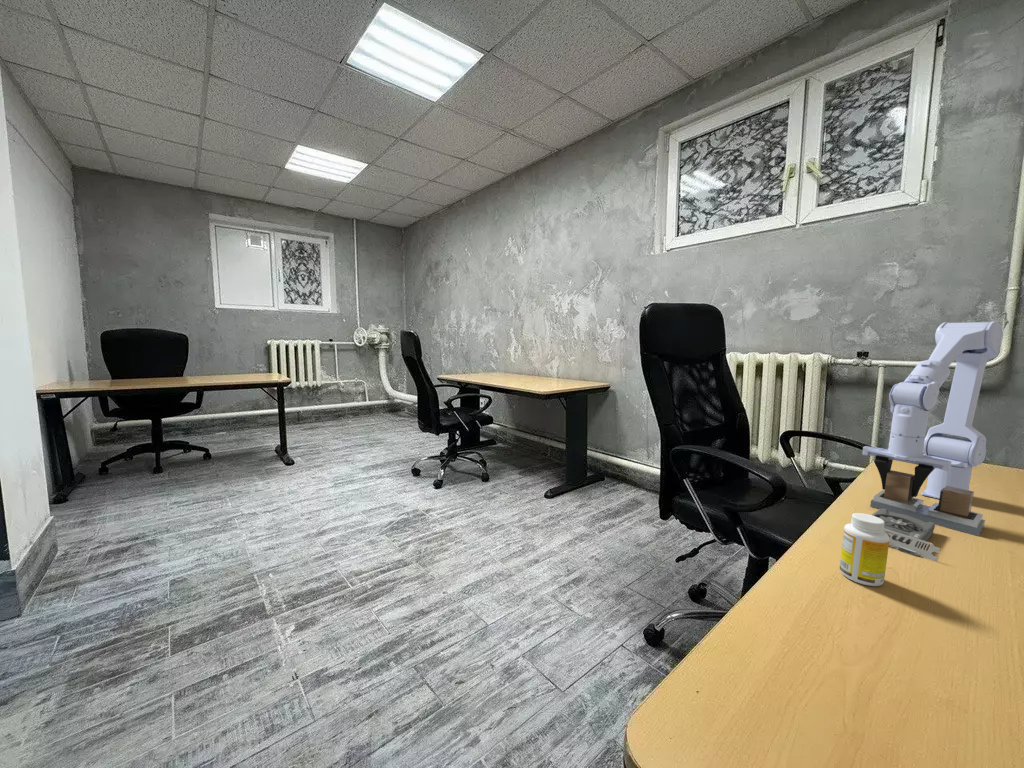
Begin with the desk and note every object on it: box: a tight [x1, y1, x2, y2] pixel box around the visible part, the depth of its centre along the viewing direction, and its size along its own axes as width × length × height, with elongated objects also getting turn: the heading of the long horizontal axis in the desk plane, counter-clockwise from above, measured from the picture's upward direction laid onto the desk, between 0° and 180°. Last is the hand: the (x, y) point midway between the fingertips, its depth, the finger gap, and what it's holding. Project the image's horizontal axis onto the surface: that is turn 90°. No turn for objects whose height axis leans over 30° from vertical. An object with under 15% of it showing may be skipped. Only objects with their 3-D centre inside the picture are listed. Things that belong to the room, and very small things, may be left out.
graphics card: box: [871, 508, 941, 563], centre depth 81 cm, size 17×4×12 cm
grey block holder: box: [869, 486, 986, 537], centre depth 91 cm, size 8×17×8 cm, turn 36°
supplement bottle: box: [839, 512, 890, 587], centre depth 66 cm, size 6×6×10 cm
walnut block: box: [884, 470, 915, 503], centre depth 94 cm, size 4×4×6 cm
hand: (899, 492), depth 94 cm, fingers closed on walnut block, 4 cm apart
